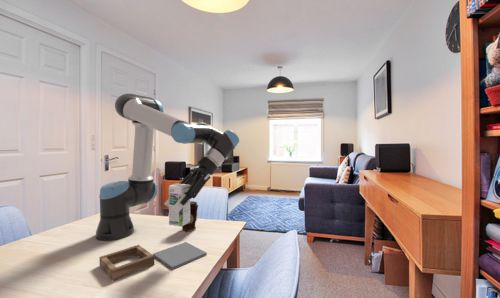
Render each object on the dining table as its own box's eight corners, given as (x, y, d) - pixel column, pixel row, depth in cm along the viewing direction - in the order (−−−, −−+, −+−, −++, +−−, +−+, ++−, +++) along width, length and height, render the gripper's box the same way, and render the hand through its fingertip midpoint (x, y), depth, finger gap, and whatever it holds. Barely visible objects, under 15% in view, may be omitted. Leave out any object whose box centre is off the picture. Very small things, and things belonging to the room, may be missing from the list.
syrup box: (168, 225, 86) (167, 185, 85) (178, 220, 91) (178, 182, 91) (181, 227, 84) (181, 186, 83) (191, 221, 89) (190, 183, 89)
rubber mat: (152, 255, 88) (152, 253, 88) (185, 243, 98) (185, 241, 98) (172, 269, 78) (172, 267, 78) (206, 254, 88) (206, 252, 88)
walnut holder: (99, 265, 81) (99, 257, 80) (138, 252, 90) (138, 244, 90) (112, 280, 72) (112, 271, 72) (154, 264, 81) (154, 255, 81)
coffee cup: (193, 233, 109) (193, 205, 109) (176, 232, 111) (176, 204, 110) (200, 226, 118) (200, 200, 117) (185, 225, 119) (185, 200, 119)
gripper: (229, 170, 88) (188, 222, 79) (205, 166, 104) (169, 208, 96) (216, 156, 84) (171, 209, 76) (194, 154, 101) (155, 197, 92)
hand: (170, 208), depth 86 cm, fingers closed on syrup box, 8 cm apart
